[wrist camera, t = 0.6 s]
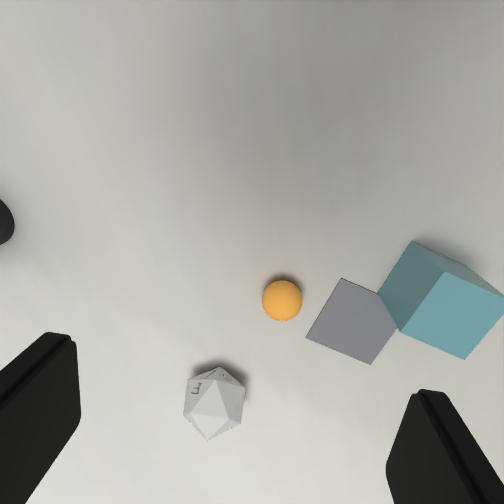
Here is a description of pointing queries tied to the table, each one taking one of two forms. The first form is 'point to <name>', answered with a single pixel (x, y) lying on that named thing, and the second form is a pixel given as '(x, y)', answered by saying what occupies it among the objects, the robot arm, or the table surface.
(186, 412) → the die
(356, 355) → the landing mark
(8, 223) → the travel mug
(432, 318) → the teal toy cube
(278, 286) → the ball
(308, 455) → the table surface
